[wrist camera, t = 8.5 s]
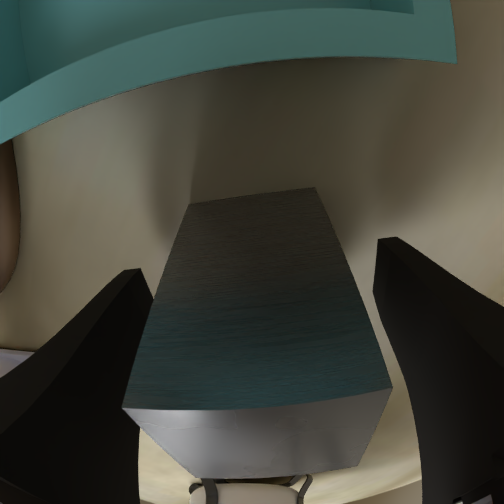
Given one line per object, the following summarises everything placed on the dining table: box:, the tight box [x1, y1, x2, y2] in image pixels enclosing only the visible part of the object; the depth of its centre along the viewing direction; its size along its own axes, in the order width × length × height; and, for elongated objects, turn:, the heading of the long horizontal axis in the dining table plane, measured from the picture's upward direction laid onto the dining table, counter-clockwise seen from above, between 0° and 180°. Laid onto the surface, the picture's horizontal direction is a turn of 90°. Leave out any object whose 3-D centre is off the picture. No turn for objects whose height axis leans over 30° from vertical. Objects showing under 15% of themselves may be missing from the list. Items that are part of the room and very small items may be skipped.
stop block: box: [122, 188, 393, 479], centre depth 8 cm, size 4×4×7 cm
